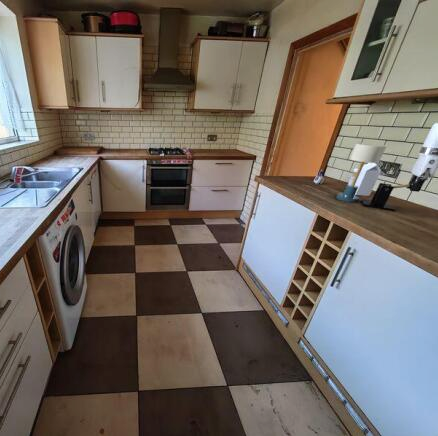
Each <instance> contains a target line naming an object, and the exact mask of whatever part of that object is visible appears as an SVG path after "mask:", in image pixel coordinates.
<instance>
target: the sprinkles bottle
mask: <svg viewBox="0 0 438 436" xmlns="http://www.w3.org/2000/svg"><path fill="white" fill-rule="evenodd" d="M358 168H359V167H358ZM358 168H357V167H356V168H355V167H354V169H353V172H352V175H351V176H350V179H349V181H348V184H347V185H352V182H353V180H354V178H355V175H356V173H357V171H358Z"/></svg>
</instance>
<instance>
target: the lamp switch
mask: <svg viewBox="0 0 438 436" xmlns="http://www.w3.org/2000/svg"><path fill="white" fill-rule="evenodd" d="M409 182H410V181H409ZM409 182H408V184H399V185H393V186H394V188H393V189H401V188H402V189H403V188H407V187H410V188H411V186H412V185H413V183H415V181H413V182H410V183H409ZM388 186H389V185H388Z"/></svg>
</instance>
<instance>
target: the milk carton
mask: <svg viewBox="0 0 438 436" xmlns="http://www.w3.org/2000/svg"><path fill="white" fill-rule="evenodd" d="M380 175H381V170H380V168H379V166H378V164H377V163H369V162H367V163H366V164H364V165H363V167H362V170H361V172H360V174H359V176H358V179H357V181H356V183H355V185H356V186H358V189H357V191H356V193H355V196H364V197H370V195H371V193H372V191H373V189H374V187H375V185H376V183H377V181H378V179H379V177H380Z"/></svg>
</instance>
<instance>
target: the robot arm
mask: <svg viewBox="0 0 438 436" xmlns="http://www.w3.org/2000/svg"><path fill="white" fill-rule="evenodd" d="M418 155H419V156H418V157H417V160H416V161H415V163H414V165H413V167H412V169H411V175H412V176H411V177H410V179H409V182H408V184H409V183H410V182H413V181H415V183H413V185H412V186H411V188H410V187H406V189H408V190H409V191H410V192H417V193H419V192H420V191H421V189H422V188H423V185H424V184H425V182H426V181H427V180H428V179H432V178H434V176H435V174H436V172H437V170H438V122H436V123H434V124H433V125H432V126H431V128H430V130H429V132H428V133H427V136H426V138H425V140H424V142H423V144H422V146H421V148H420V150H419V152H418Z"/></svg>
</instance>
